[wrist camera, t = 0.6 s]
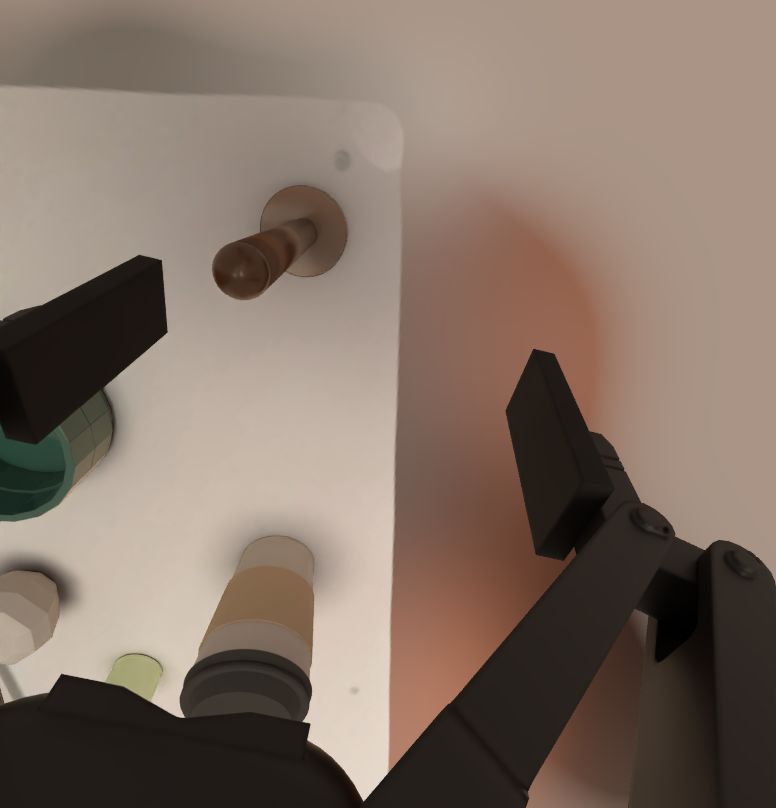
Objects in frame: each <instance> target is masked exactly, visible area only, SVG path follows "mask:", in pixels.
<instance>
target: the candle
mask: <svg viewBox="0 0 776 808" xmlns="http://www.w3.org/2000/svg"><path fill="white" fill-rule="evenodd" d="M161 675H162V669H161V667H160V665H159V664H158V663H157V662H156V661H155V660H154V659H152V658H150V657H147V656H144V655H139V654H131V655H126V656H124V657H121V658H119V659H118V660H117V661H116V663H115V664H114V666H113V668H112V670H111V672H110V674H109V675H108V677H107V679H106V681H105V683H109V684H114V685H119V686H124V687H125V688H127V689H129V690H131V691H132V692H134V693H136V694H138V695H139V696H141V697H143V698H144V699H146V700H148V701H150V702H151V699H152V697H153V694H154V692H155V690H156V687H157V685H158V683H159V680H160V678H161Z"/></svg>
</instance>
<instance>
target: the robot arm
mask: <svg viewBox="0 0 776 808" xmlns="http://www.w3.org/2000/svg"><path fill="white" fill-rule="evenodd" d="M166 333H168V331H167V318H166V306H165V294H164V281H163V269H162V260H159V259H154V258H150V257H146V256H142V255H138V256H136V257H134V258H132V259H130V260H129V261H127V262H125V263H123V264H121V265H119V266H117V267H115V268H113V269H111V270H109V271H107V272H105V273H103V274H102V275H100V276H98V277H96V278H94V279H92V280H90V281H88V282H86V283H84V284H82V285H80V286H78V287H76V288H75V289H73V290H71V291H69V292H67V293H65V294H63V295H61V296H59V297H57V298H55V299H53V300H51V301H49V302H47V303H46V304H44V305H42V306H41V305H40V306H36V307H32V308H28V309H24V310H20V311H18V312H16V313H14V314H12V315H10V316H8V317H6V318H4V319H3V321H1V320H0V425H1V427H2V430H3V433H4V436H5V438H6V439H10V440H15V441H20V442H24V443H29V444H33V445H37V444H38V443H39V442H40V441H42V440H43V439H44V438H45V437H46V436H47V435H49V434H50V433H51V432H52V431H53V430H54V429H56V428H57V427H58V426H59V425H60V424H61V423H63V422H64V421H65V420H66V419H67V418H68V417H70V416H71V415H72V414H73V413H74V412H75V411H77V410H78V409H79V408H80V407H81V406H82V405H84V404H85V403H86V402H87V401H88V400H89V399H91V398H92V397H93V396H94V395H95V394H96V393H98V392H99V391H100V390H101V389H102V388H103V387H105V386H106V385H107V384H108V383H109V382H110V381H112V380H113V379H114V378H115V377H116V376H117V375H119V374H120V373H121V372H122V371H123V370H124V369H126V368H127V367H128V366H129V365H130V364H131V363H133V362H134V361H135V360H136V359H137V358H138V357H140V356H141V355H142V354H143V353H144V352H145V351H147V350H148V349H149V348H150V347H151V346H152V345H154V344H155V343H156V342H157V341H158V340H159V339H161V338H162V337H163V336H164V335H165V334H166ZM506 416H507V420H508V425H509V430H510V435H511V439H512V444H513V449H514V453H515V458H516V463H517V468H518V472H519V477H520V482H521V487H522V491H523V496H524V501H525V506H526V510H527V515H528V519H529V524H530V529H531V534H532V539H533V544H534V548H535V553H536V555H539V556H544V557H549V558H553V559H558V560H562V561H564V560H565V558H566V557H567V555H568V554H569V553H570V551H571V550H572V548H573V547H574V548H575V551H576V556H575V558H574V559H573V560H572V561H571V562H570V563H569V565H568V566H567V567H566V569H565V570H564V571H563V572H562V573H561V574H560V575H559V577H558V578H557V579H556V580H555V581H554V582H553V584H552V585H551V586H550V587H549V588H548V589H547V591H546V592H545V593H544V594H543V595H542V596H541V598H540V599H539V600H538V601H537V602H536V604H535V605H534V606H533V607H532V608H531V609H530V611H529V612H528V613H527V614H526V615H525V617H524V618H523V619H522V620H521V621H520V622H519V624H518V625H517V626H516V627H515V628H514V630H513V631H512V632H511V633H510V634H509V635H508V636H507V638H506V639H505V640H504V641H503V642H502V644H501V645H500V646H499V647H498V648H497V649H496V651H495V652H494V653H493V654H492V655H491V657H490V658H489V659H488V660H487V661H486V662H485V664H484V665H483V666H482V667H481V668H480V670H479V671H478V672H477V673H476V674H475V675H474V677H473V678H472V679H471V680H470V681H469V683H468V684H467V685H466V686H465V687H464V688H463V690H462V691H461V692H460V693H459V694H458V695H457V697H456V698H455V699H454V700H453V701H452V702H451V703H450V704H448V705H447V706H446V707H445V708H444V709H443V710H442V711H441V712H440V713H439V714H438V716H437V717H436V718H435V719H434V720H433V722H432V723H431V724H430V725H429V726H428V727H427V729H426V730H425V731H424V732H423V733H422V734H421V736H420V737H419V738H418V739H417V740H416V741H415V742H414V744H413V745H412V746H411V747H410V748H409V749H408V751H407V752H406V753H405V754H404V755H403V757H402V758H401V759H400V760H399V761H398V762H397V763H396V765H395V766H394V767H393V768H392V769H391V770H390V772H389V773H388V774H387V775H386V776H385V778H384V779H383V780H382V781H381V782H380V783H379V785H378V786H377V787H376V788H375V789H374V790H373V792H372V793H371V794H370V795H369V796H368V797H367V799H366V800H365V801H364V802H363V800H362V798H361V796H360V794H359V793H358V791H357V789H356V787H355V785H354V784H353V782H352V781H351V779H350V778H349V777H348V775H347V774H346V772H345V771H344V770H343V769H342V768H341V767H340V765H339V764H338V763H337V762H336V761H335V760H334V759H333V758H332V757H331V756H329V755H328V754H327V753H326V752H324V751H323V750H322V749H321V748H319V747H318V746H316V745H314V744H313V743H311V742H309V741H308V740H307V738H308V734H309V729H310V723H305V722H300V721H295V720H290V719H285V718H280V717H275V716H270V715H265V714H260V713H255V712H242V713H232V714H222V715H212V716H201V717H191V718H179V717H176V716H174V715H172V714H170V713H169V712H167V711H165V710H163V709H162V708H160V707H158V706H157V705H155V704H153V703H151V702H150V701H148V700H146V699H144V698H143V697H141V696H139V695H138V694H136V693H134V692H132V691H131V690H129V689H127V688H125V687H124V686H119V685H114V684H109V683H104V682H99V681H94V680H89V679H84V678H79V677H74V676H69V675H64V674H61V675H60V677H59V679H58V680H57V682H56V683H55V685H54V686H53V688H52V689H51V691H50V692H49V693H44V694H39V695H34V696H29V697H24V698H21V699H18V700H15V701H12V702H8V703H5V704H4V700H3V697H2V693H1V690H0V808H526V806H527V803H528V800H529V796H528V791H529V788H530V786H531V784H532V782H533V780H534V778H535V777H536V775H537V773H538V772H539V770H540V768H541V766H542V765H543V763H544V761H545V759H546V758H547V756H548V755H549V753H550V751H551V750H552V748H553V746H554V744H555V743H556V741H557V739H558V738H559V736H560V734H561V733H562V731H563V729H564V728H565V726H566V724H567V722H568V721H569V719H570V717H571V716H572V714H573V712H574V710H575V709H576V707H577V705H578V704H579V702H580V700H581V699H582V697H583V695H584V694H585V692H586V690H587V688H588V687H589V685H590V683H591V682H592V680H593V678H594V676H595V675H596V673H597V672H598V670H599V668H600V666H601V664H602V663H603V661H604V660H605V658H606V656H607V655H608V653H609V651H610V649H611V648H612V646H613V644H614V642H615V641H616V639H617V637H618V636H619V634H620V632H621V631H622V629H623V627H624V626H625V624H626V622H627V621H628V619H629V617H630V615H631V613H632V612H633V610H634V609H637V610H639V611H641V612H643V613H645V614H647V615H649V617H648V626H647V636H646V645H645V654H644V664H643V673H642V682H641V692H640V701H639V710H638V720H637V730H636V739H635V748H634V757H633V766H632V776H631V786H630V794H629V804H628V808H776V585H775V580H774V578H773V576H772V573H771V572H770V571H769V569H768V568H767V567H766V566H765V565H764V563H763V562H762V561H761V560H760V559H759V558H758V557H756V556H755V555H754V554H753V553H752V552H750V551H748V550H746V549H745V548H743V547H741V546H739V545H737V544H734V543H732V542H729V541H723V540H718V541H716V542H713V543H712V544H711V545H710V546H709V547H708V548H707V549H706V550H703V549H701V548H698V547H697V546H694V545H692V544H690V543H687V542H686V541H683V540H681V539H679V538H677V537H675V532H674V529H673V527H672V525H671V524H670V523H669V522H668V520H667V519H666V518H665V517H664V516H663V515H662V514H660V513H659V512H658V511H656V510H655V509H654V508H652V507H650V506H648V505H646V504H644V503H641V501H640V500H639V497H638V495H637V493H636V491H635V489H634V487H633V485H632V483H631V481H630V479H629V477H628V475H627V473H626V472H625V471H624V467H623V465H622V463H621V461H619V457H618V455H617V453H616V451H615V449H614V447H613V446H612V445H611V444H610V443H609V442H608V441H607V440H606V439H605V438H604V437H603V435H601V434H598V433H594V432H590V431H589V430H588V428H587V426H586V423H585V421H584V419H583V416H582V414H581V412H580V410H579V408H578V406H577V403H576V401H575V399H574V397H573V394H572V392H571V390H570V388H569V385H568V383H567V381H566V379H565V377H564V374H563V372H562V370H561V368H560V365H559V363H558V361H557V359H556V357H555V354H553V353H549V352H545V351H540V350H536V349H533V351H532V353H531V355H530V358H529V360H528V362H527V364H526V366H525V369H524V371H523V373H522V375H521V377H520V380H519V382H518V384H517V387H516V389H515V391H514V393H513V395H512V397H511V400H510V402H509V404H508V406H507V409H506Z"/></svg>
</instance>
